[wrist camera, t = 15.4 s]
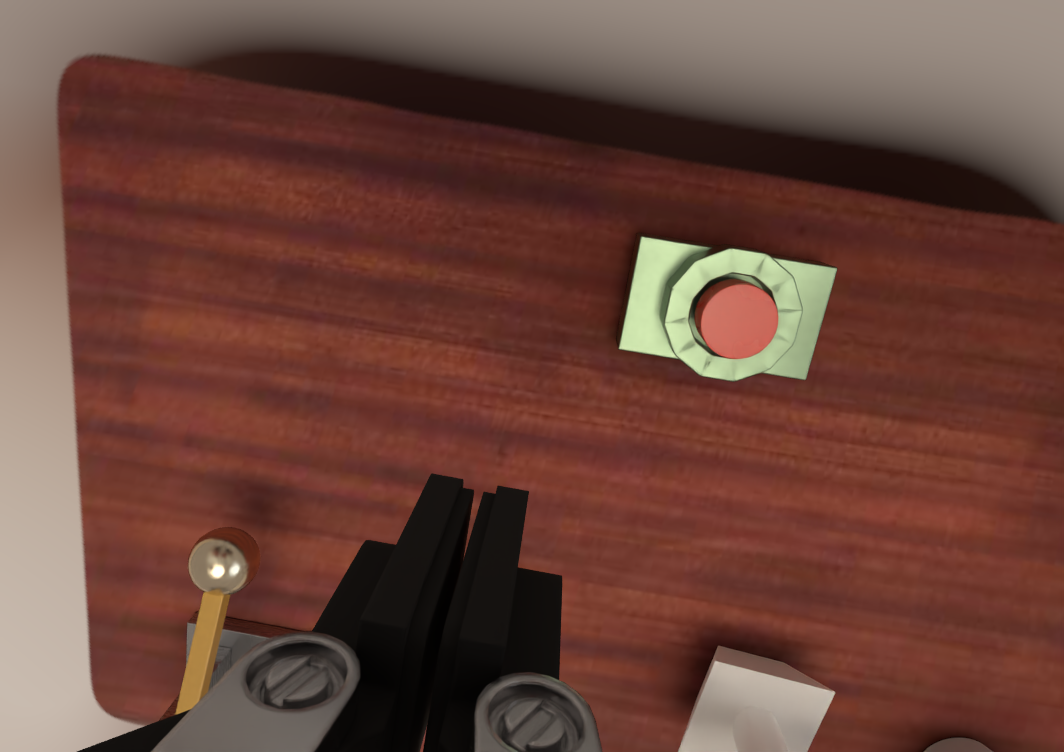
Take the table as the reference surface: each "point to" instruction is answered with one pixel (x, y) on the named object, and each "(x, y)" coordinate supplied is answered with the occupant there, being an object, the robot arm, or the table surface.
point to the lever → (214, 600)
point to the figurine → (754, 706)
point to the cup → (958, 746)
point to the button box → (691, 268)
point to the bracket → (230, 646)
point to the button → (736, 318)
